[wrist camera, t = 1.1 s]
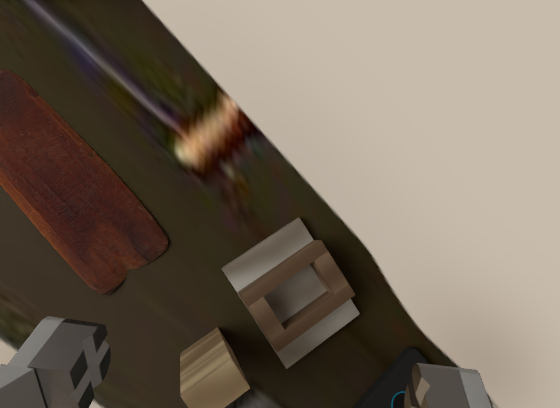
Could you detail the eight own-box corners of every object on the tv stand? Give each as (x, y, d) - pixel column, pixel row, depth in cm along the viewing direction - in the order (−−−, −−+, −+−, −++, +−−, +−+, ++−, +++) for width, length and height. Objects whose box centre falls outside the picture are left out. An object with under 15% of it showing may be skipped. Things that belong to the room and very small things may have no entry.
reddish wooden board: (175, 242, 52) (175, 242, 50) (104, 301, 50) (102, 303, 48) (19, 60, 50) (13, 54, 48) (-63, 113, 47) (-72, 109, 46)
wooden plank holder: (221, 268, 52) (224, 270, 48) (297, 217, 55) (306, 216, 51) (284, 366, 53) (293, 376, 49) (356, 312, 55) (370, 318, 52)
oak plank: (180, 353, 50) (180, 396, 37) (217, 327, 52) (231, 359, 38) (194, 375, 51) (200, 425, 37) (231, 348, 52) (250, 388, 38)
